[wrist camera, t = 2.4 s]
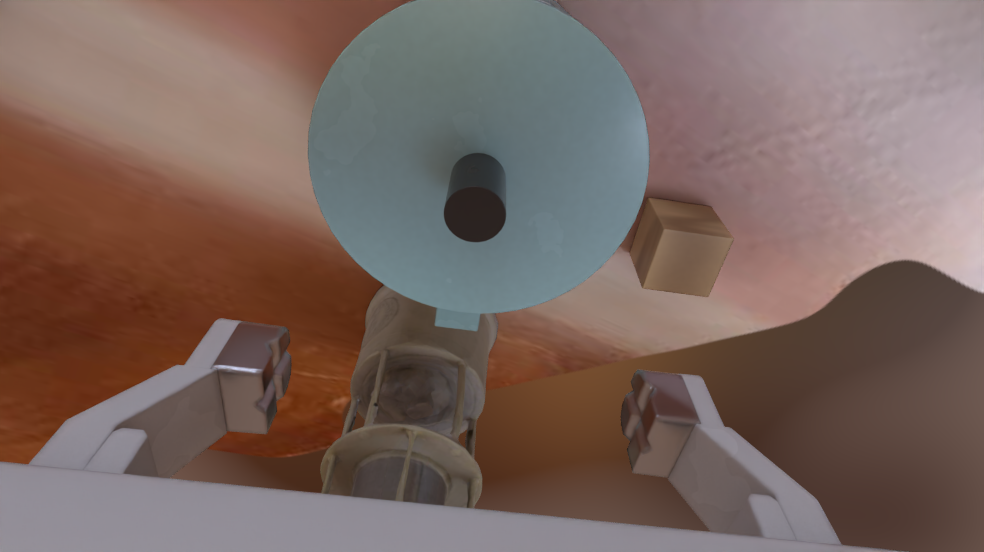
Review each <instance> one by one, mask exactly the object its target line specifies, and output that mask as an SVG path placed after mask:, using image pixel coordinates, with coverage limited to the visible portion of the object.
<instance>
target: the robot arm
mask: <svg viewBox="0 0 984 552" xmlns="http://www.w3.org/2000/svg"><path fill="white" fill-rule="evenodd" d="M289 343H290V335H289V330H288V329H287V327H281V326H274V325H267V324H260V323H253V322H246V321H236V320H229V319H222V318H220V319H218V320H216V321H215V322H214V323H213V325H212V326H211V328H210V329H209V330H208V332H207V333H206V335H205V336H204V338H203V339H202V340H201V342H200V343H199V345H198V346H197V347H196V349H195V350H194V352H193V353H192V355H191V356H190V357H189V359H188V360H187V362H186V363H185V365H184V366H183V365H176V366H174V367H172V368H170V369H168V370H166V371H164V372H162V373H160V374H158V375H156V376H154V377H152V378H150V379H148V380H146V381H144V382H142V383H140V384H138V385H136V386H134V387H132V388H130V389H128V390H126V391H124V392H122V393H120V394H118V395H116V396H114V397H112V398H110V399H108V400H106V401H104V402H102V403H100V404H98V405H96V406H94V407H92V408H90V409H88V410H86V411H84V412H82V413H80V414H78V415H76V416H74V417H72V418H70V419H68V420H66V421H65V422H64V423H63V425H62V426H61V427H60V428H59V429H58V430H57V432H56V433H55V434H54V435H53V436H52V437H51V439H50V440H49V441H48V442H47V443H46V444H45V446H44V447H43V448H42V449H41V450H40V451H39V453H38V454H37V455H36V456H35V457H34V458H33V460H32V461H31V462H30V463H29V464H19V463H9V462H0V552H908V551H898V550H887V549H877V548H867V547H857V546H847V545H841V543H840V541H839V539H838V537H837V535H836V534H835V532H834V530H833V528H832V526H831V524H830V523H829V521H828V519H827V517H826V515H825V513H824V512H823V510H822V508H821V506H820V504H819V502H818V501H817V499H816V498H815V497H813V496H812V495H811V494H810V493H808V492H807V491H806V490H805V489H804V488H802V487H801V486H800V485H799V484H797V483H796V482H795V481H794V480H793V479H792V478H790V477H789V476H788V475H787V474H786V473H784V472H783V471H782V470H781V469H779V468H778V467H777V466H776V465H774V463H772V462H771V461H770V460H769V459H767V458H766V457H765V456H764V455H763V454H761V453H760V452H759V451H758V450H757V449H755V448H754V447H753V446H752V445H751V444H749V443H748V442H747V441H746V440H745V439H743V438H742V437H741V436H740V435H739V434H737V433H736V432H735V431H734V430H733V429H731V428H728V427H724V425H723V423H722V421H721V418H720V416H719V414H718V412H717V410H716V407H715V405H714V403H713V401H712V399H711V396H710V394H709V392H708V390H707V388H706V385H705V383H704V381H703V379H702V378H701V377H700V376H696V375H685V374H672V373H663V372H655V371H645V370H637V371H636V372H635V373H634V375H633V378H632V380H631V384H632V388H633V391H631V392H630V393H628V394H627V395H626V396H625V398H624V401H623V404H622V410H621V426H622V431H623V434H624V435H625V436H626V437H627V438H628V439H629V440H630V443H629V446H628V448H627V452H628V456H629V460H630V464H631V468H632V471H633V473H637V474H644V475H652V476H659V477H668V480H669V481H670V482H671V483H672V485H673V486H674V487H675V489H676V490H677V491H678V492H679V493H680V495H681V496H682V497H683V498H684V500H685V501H686V502H687V503H688V504H689V506H690V507H691V508H692V509H693V511H694V512H695V513H696V514H697V515H698V517H699V518H700V519H701V520H702V522H703V523H704V524H705V525H706V526H707V527H708V529H709V530H710V531H711V532H705V531H696V530H686V529H675V528H664V527H654V526H644V525H634V524H624V523H614V522H613V523H612V522H604V521H594V520H584V519H573V518H564V517H554V516H544V515H534V514H524V513H513V512H504V511H494V510H483V509H474V508H463V507H453V506H443V505H433V504H423V503H413V502H402V501H392V500H382V499H372V498H362V497H352V496H342V495H331V494H321V493H311V492H301V491H291V490H281V489H271V488H260V487H250V486H240V485H230V484H220V483H210V482H200V481H189V480H179V479H170V477H171V476H172V475H174V474H175V473H176V472H178V471H179V470H180V469H181V468H183V467H184V466H185V465H186V464H188V463H189V462H190V461H191V460H193V459H194V458H196V457H197V456H198V455H199V454H201V453H202V452H203V451H205V450H206V449H207V448H208V447H210V446H211V445H212V444H213V443H215V442H216V441H217V440H219V439H220V438H221V437H222V436H224V435H225V434H226V433H227V431H234V432H247V433H259V434H267V432H268V430H269V428H270V425H271V423H272V421H273V419H274V417H275V414H276V412H277V406H276V401H277V400H279V399H280V398H282V397H283V396H284V394H285V392H286V389H287V387H288V383H289V379H290V375H291V356H290V355H289V353H288V352H287V351H286V349H287V347H288V345H289Z"/></svg>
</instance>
